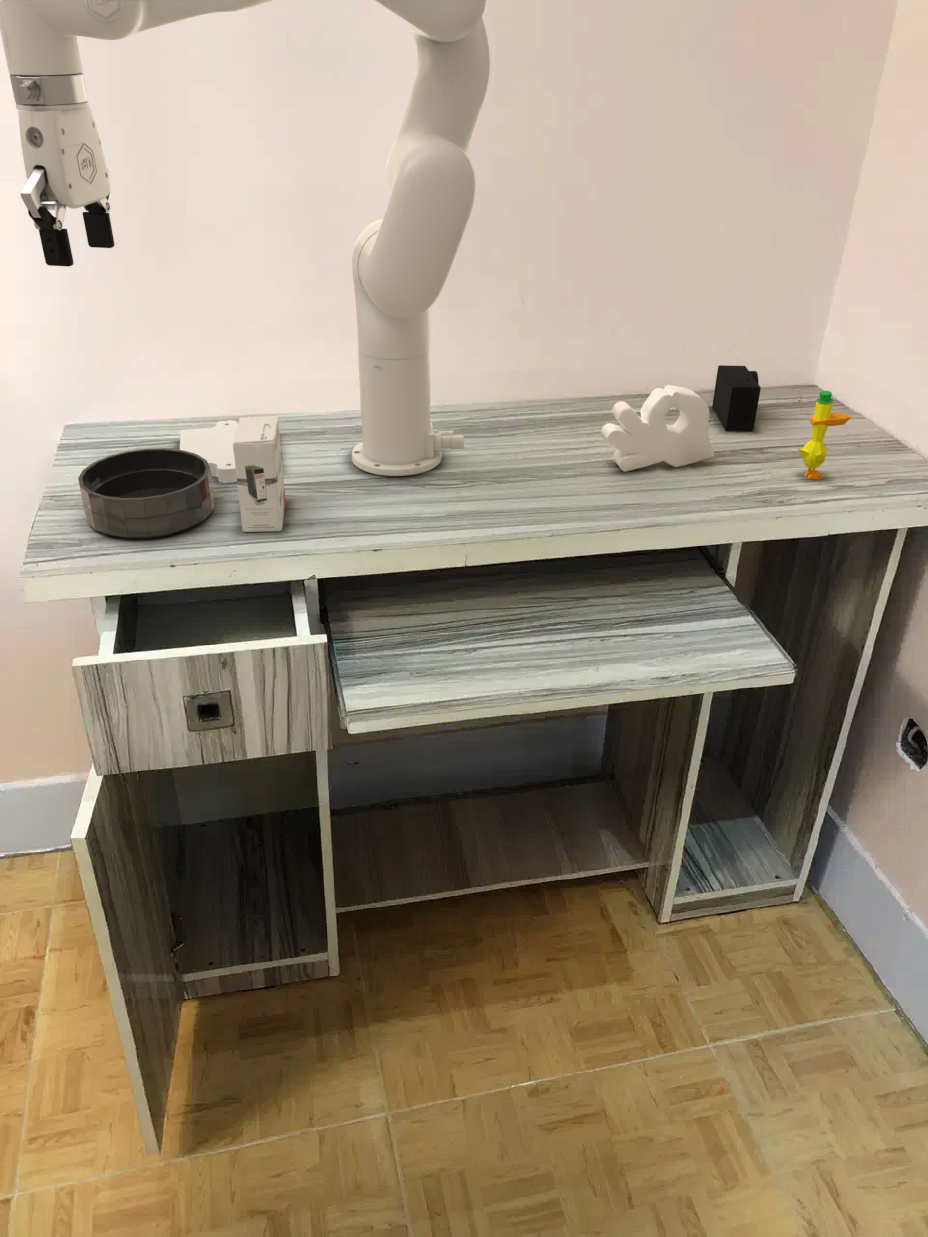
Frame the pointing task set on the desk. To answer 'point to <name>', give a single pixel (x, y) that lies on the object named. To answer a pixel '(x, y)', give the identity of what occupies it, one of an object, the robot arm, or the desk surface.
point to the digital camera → (736, 397)
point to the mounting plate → (214, 448)
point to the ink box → (259, 473)
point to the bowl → (147, 493)
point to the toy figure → (820, 434)
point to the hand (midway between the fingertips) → (81, 255)
